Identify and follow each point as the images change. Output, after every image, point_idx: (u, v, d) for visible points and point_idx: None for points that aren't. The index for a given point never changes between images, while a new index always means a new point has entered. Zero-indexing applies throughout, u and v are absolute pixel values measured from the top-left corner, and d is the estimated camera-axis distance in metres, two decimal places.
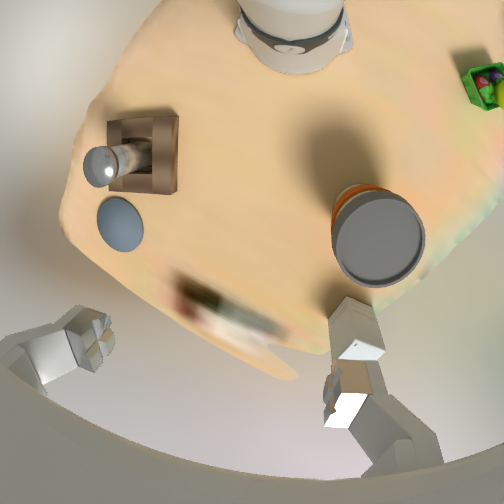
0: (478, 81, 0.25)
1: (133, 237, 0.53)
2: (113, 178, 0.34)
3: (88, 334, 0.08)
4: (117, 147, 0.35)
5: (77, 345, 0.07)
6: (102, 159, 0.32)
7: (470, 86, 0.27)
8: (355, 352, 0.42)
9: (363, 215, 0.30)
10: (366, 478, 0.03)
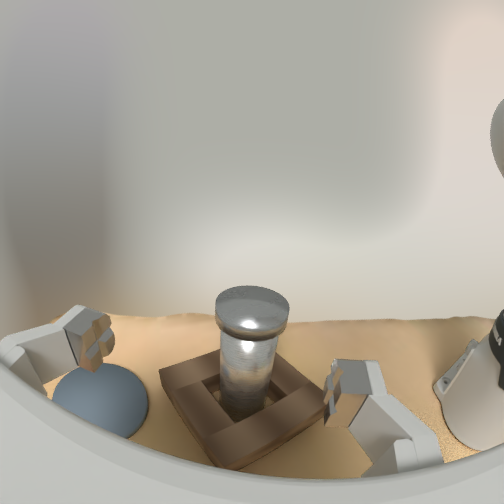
0: None
1: None
2: (252, 333, 0.20)
3: (88, 334, 0.08)
4: None
5: (77, 345, 0.07)
6: (272, 306, 0.22)
7: None
8: None
9: None
10: (366, 478, 0.03)
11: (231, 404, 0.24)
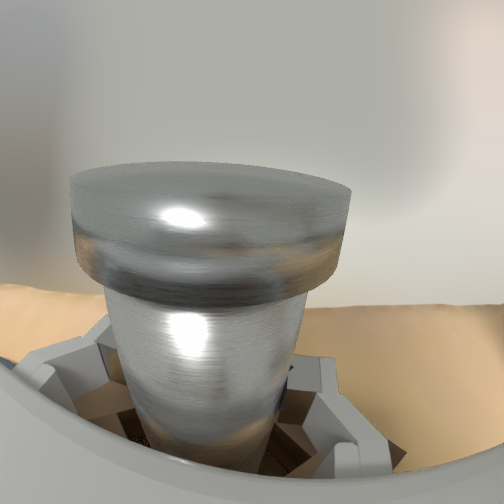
0: None
1: None
2: (172, 254, 0.03)
3: None
4: None
5: (111, 359, 0.07)
6: (285, 177, 0.06)
7: None
8: None
9: None
10: (366, 478, 0.03)
11: None
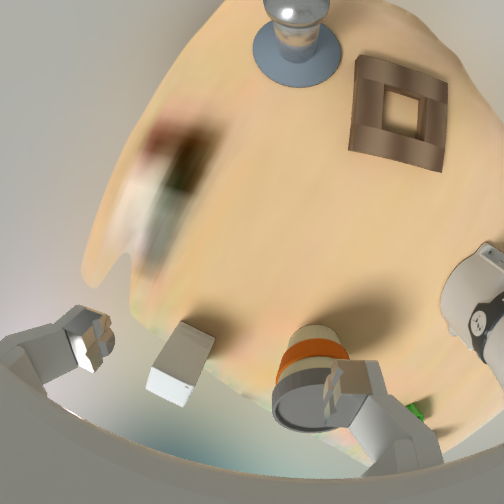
0: None
1: (279, 70, 0.30)
2: (275, 19, 0.17)
3: (88, 334, 0.08)
4: (319, 25, 0.20)
5: (77, 345, 0.07)
6: (309, 8, 0.16)
7: None
8: (176, 386, 0.37)
9: None
10: (366, 478, 0.03)
11: (278, 45, 0.27)
